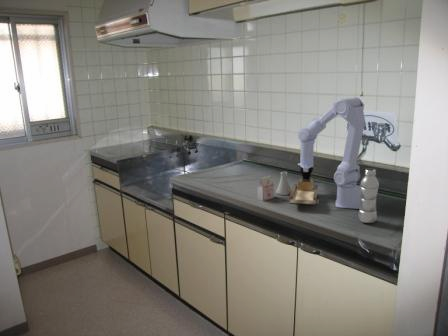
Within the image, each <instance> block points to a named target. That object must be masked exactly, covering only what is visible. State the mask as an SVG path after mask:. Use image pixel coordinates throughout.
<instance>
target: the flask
mask: <svg viewBox="0 0 448 336" xmlns="http://www.w3.org/2000/svg"><path fill="white" fill-rule="evenodd" d="M289 183H290V182H289V180H288V172H287V171H281V172H280V179H279V184H278V185H277V189H276V191H275V194H277V195H280V196H290V195H291V192H292V189H291V186H290V184H289Z"/></svg>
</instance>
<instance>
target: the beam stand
mask: <svg viewBox="0 0 448 336" xmlns="http://www.w3.org/2000/svg"><path fill="white" fill-rule="evenodd" d="M319 202H320V201H319V199H317V198H316V204H304V203H290V202H289V204H293V205H308V206H319Z"/></svg>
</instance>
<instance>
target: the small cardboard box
mask: <svg viewBox="0 0 448 336" xmlns="http://www.w3.org/2000/svg"><path fill="white" fill-rule="evenodd" d="M292 187H293V188H292V189H291V191H292V192H291V194H289V204H290V203H304V204H303V205H306V204H316V199H317V197H318V184H317V185H316V184H315V186H314V187H313V188H312V191H300V190H298V184H296V183H295V184H294V185H293V186H292Z"/></svg>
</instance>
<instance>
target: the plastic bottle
mask: <svg viewBox="0 0 448 336" xmlns="http://www.w3.org/2000/svg"><path fill="white" fill-rule="evenodd" d="M376 175H377V169H375V168H372V167H371V168H368V167H367V168H365V169H364V177H362V179H361V180H360V186H361V203H360V209H359V210H358V214H357V215H358V220H359V221H360V222H361V223H365V224H374V223H375V222H376V220H377V217H378V214H377V213H378V212H377V197H378V191H379V187H380V183H379V180H378V178H377V177H376Z"/></svg>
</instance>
